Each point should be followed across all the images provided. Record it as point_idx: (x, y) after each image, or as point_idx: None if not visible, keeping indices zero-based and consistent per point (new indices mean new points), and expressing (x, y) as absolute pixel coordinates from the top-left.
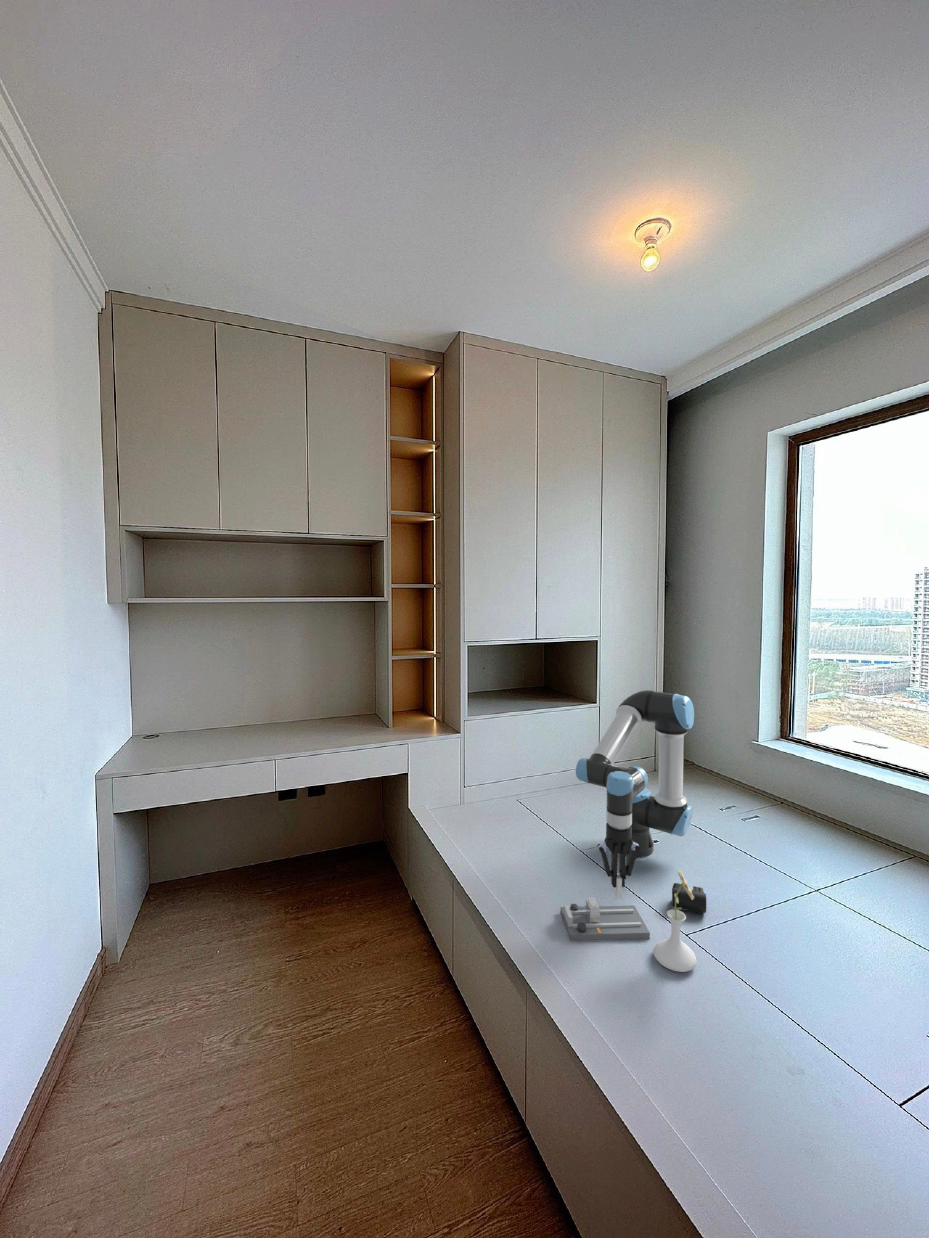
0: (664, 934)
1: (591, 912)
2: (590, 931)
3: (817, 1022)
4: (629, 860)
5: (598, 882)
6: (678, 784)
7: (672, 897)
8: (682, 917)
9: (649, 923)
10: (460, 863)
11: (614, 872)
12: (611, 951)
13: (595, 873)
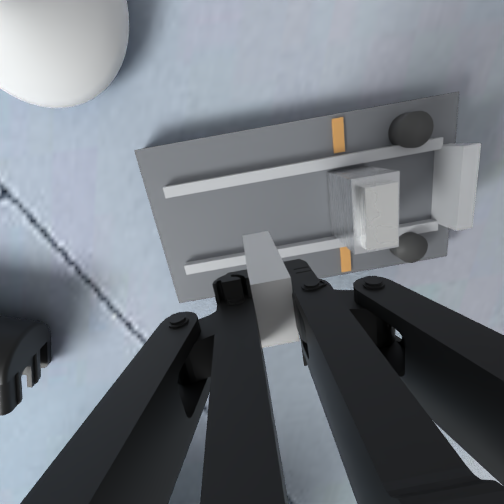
0: (85, 184)
1: (385, 170)
2: (371, 125)
3: None
4: (143, 474)
5: (277, 405)
6: None
7: (22, 342)
8: None
9: (136, 237)
10: None
11: (333, 305)
12: (296, 52)
13: (279, 439)
